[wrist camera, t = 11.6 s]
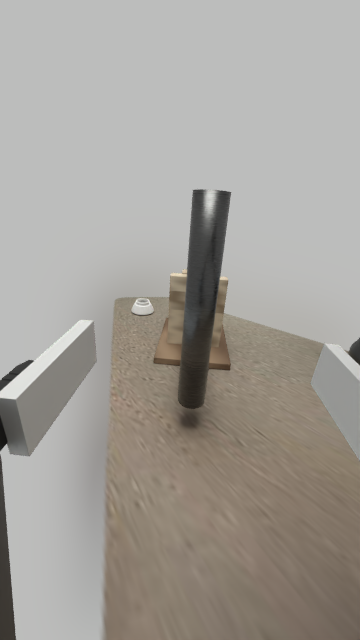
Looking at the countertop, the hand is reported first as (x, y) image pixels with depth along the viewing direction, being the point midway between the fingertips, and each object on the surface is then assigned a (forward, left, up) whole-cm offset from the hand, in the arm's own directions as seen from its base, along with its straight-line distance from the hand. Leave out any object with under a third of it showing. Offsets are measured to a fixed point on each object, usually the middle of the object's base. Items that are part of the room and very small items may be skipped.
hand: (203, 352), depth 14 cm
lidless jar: (+12, -41, -15) cm, 46 cm away
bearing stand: (0, -28, -15) cm, 31 cm away
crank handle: (0, -17, -12) cm, 21 cm away
